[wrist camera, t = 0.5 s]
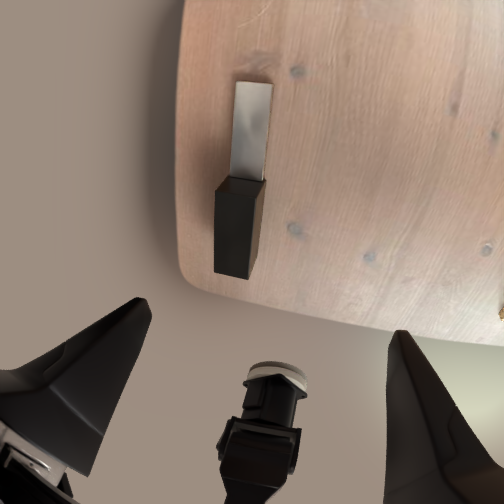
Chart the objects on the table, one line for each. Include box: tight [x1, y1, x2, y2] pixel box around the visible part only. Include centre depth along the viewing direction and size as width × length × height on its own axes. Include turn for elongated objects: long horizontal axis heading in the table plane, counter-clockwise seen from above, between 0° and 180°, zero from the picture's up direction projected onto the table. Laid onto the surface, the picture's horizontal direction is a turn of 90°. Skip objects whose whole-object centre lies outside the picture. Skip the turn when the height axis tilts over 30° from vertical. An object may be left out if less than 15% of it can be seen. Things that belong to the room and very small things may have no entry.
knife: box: [214, 81, 274, 280], centre depth 20 cm, size 14×3×3 cm, turn 175°
